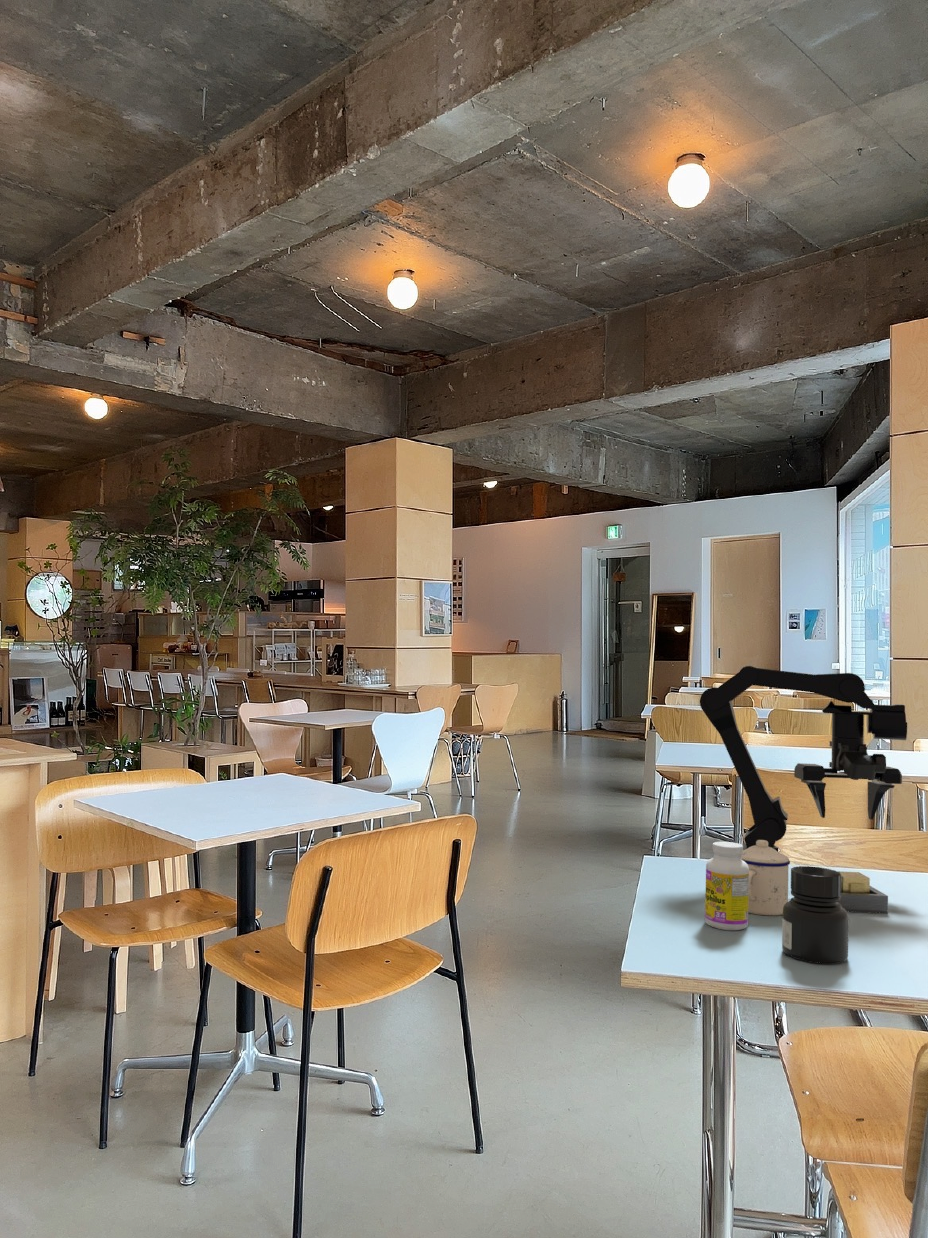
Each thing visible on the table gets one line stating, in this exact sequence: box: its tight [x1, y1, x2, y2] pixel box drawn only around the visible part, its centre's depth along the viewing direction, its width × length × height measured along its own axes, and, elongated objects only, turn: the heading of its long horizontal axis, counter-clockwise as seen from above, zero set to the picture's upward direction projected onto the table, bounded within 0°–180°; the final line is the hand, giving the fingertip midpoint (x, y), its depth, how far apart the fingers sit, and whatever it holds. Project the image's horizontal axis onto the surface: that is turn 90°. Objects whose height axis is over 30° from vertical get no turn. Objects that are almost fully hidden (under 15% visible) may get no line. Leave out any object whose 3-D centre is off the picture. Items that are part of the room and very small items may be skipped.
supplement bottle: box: [704, 841, 749, 931], centre depth 145 cm, size 7×7×13 cm
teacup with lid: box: [741, 840, 791, 916], centre depth 155 cm, size 12×9×12 cm
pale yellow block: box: [836, 870, 871, 894], centre depth 160 cm, size 4×6×5 cm
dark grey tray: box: [837, 885, 889, 915], centre depth 163 cm, size 9×15×3 cm, turn 179°
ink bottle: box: [781, 865, 850, 965], centre depth 131 cm, size 10×9×12 cm
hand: (846, 818), depth 176 cm, fingers open, 9 cm apart
